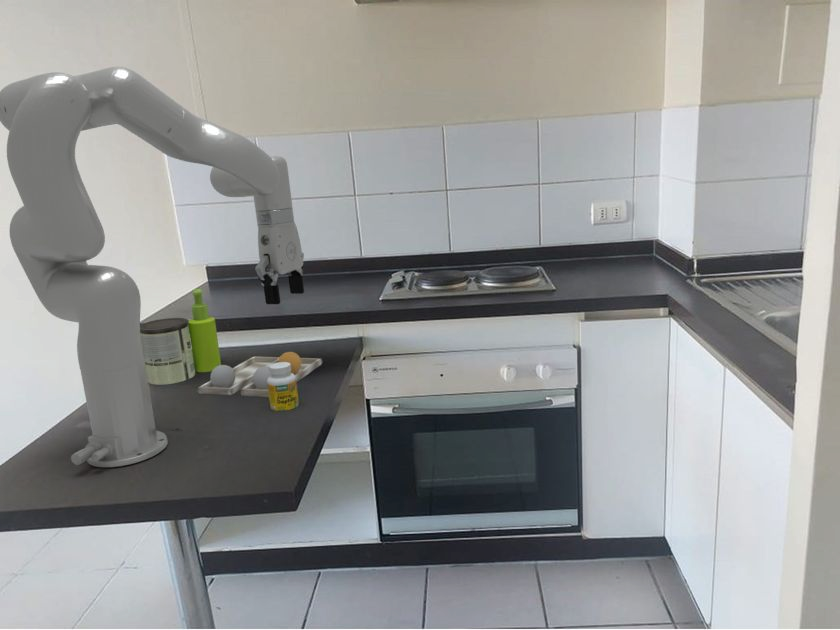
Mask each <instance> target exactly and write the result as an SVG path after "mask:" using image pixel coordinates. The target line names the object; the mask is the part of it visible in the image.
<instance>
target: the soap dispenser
mask: <svg viewBox="0 0 840 630" xmlns="http://www.w3.org/2000/svg"><path fill="white" fill-rule="evenodd" d="M192 295H193V297H194V304H192V305H191V311H192V319H188V329H189V335H190V342H191V349H192V355H193V362H194V369H195V373H196V372H197V373H209V372H210V373H211V372H212V371H213V369H214V368H215V367H217V366H219V365H222V362H221V355H220V353H221V352H220V347H219V340H218V332H217V324H216V319H215V318H216V317H212V316H209V308H208V303H205V302H204V301H203V300H204V299H203V291H202V288H196V289H192Z"/></svg>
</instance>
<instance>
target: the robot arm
mask: <svg viewBox="0 0 840 630" xmlns="http://www.w3.org/2000/svg"><path fill="white" fill-rule="evenodd" d="M0 123H1V124H2V125H3V126H4V128H5V129H7V130H8V131H9V132H8V136H7V140H6V141H7V142H6V159H7V165H8V170H9V171H10V175H11V178H12V180H13V182H14V185H15V187H16V189H17V193H18V194H19V197H20V199H21V201H22V204H23V206H21V207H20V208H19V209H17V211H15V213H14V215H13V216H12V218H11V220H10V223H9V230H8V231H9V240H10V242H11V243H10V244H11V246H12V248H13V251H14V253H15V255H16V257H17V259H18V261H19V263H20V265H21V267H22V269H23V272H24V273H25V275H26V277H27V279H28V281H29V283H30V284H31V287H32V288H33V291H34V293H35V295H36V296H37V298H38V301H40V303H41V304H42V306H43V307H44V308H45V309H46V311H48V313H50V314H51V315H52V316H54V317H56V318H58V319H60V320H63V321H66V322H68V321H69V322H73V323H77V324H78V333H77V340H76V352H77V361H78V365H79V369H80V370H79V371H80V376H81V380H82V385H83V391H84V396H85V402H86V406H87V407H86V408H87V412H88V418H89V422H90V428H91V433H92V434H91V435H90V436H87V441H88V443H87V444H86V445H85V447H84V448H82V449H80V450H78V451H76V452H74V453H72V454H71V456H70V460H71V462H72V463H73V464H74V465H76V466H79V465H81V464H83V463H84V462H86V463H88V465H91V466H93V467H97V468H117V467H124V466H128V465H133V464H137V463H140V462H143V461H145V460H147V459H148V460H149V459H151V458H153V457H154V456H156V455H159V454H160V453H161V452H162V451H163V450H165V448H166V447H167V445H168V442H169V441H168V436H167V434H165V433H164V432H162V431H160V430H157V427H156V423H155V415H154V410H153V405H152V397H151V392H150V385H149V383H148V379H147V372H146V366H145V360H144V355H143V349H142V342H141V333H140V325H141V308H142V307H141V305H142V303H141V294H140V293H141V292H140V289H139V287H138V284H137V283H136V281H134V279H133V278H132V276H130V275H129V274H128V273H126V272H125V271H124V270H121V269H119V268H116V267H113V266H107V265H98V264H97V265H95V264H88V262H87V261H90V260H92V259H93V258H95V257H97V256H98V255H99V254H100V253H101V252H102V251H103V249H104V246H105V243H106V242H105V241H106V237H105V230H104V228H103V224H102V222H101V220H100V218H99V216H98V213H97V211H96V209H95V207H94V205H93V203H92V202H93V201H92V200H91V198H90V196H89V195H90V194H88V191H87V189H86V186H85V184H84V182H83V180H82V177H81V174H80V171H79V167H78V165H77V162H76V161H77V159H76V146H77V141H78V138H79V136H80V133H81V132H83V131H87V130H91V129H92V130H93V129H96V128H97V129H98V128H100V127H106V126H111V125H112V126H113V125H118V126H121V127H123V128H124V129H126V130H127V131H128V132H130V133H131V134H134V135H135V136H137V137H138V138H140V139H141V140H143V141H144V142H146V143H148V144H149V145H150V146H152V147H154V148H155V149H157V150H158V151H160V152H161V153H163V154H164V155H166V156H167V157H169V158H172V159H175V160H179V161H182V162H186V163H192V164H200V165H203V166H204V165H205V166H208V167H212V168H211V170H210V174H209V181H210V184H211V186H212V187H213V189H214V190H215V191H216V192H217V193H218V194H220V195H221V196H225V197H227V198H228V197H229V198H245V197H253V202H254V208H255V215H256V216H255V217H256V224H257V244H258V257H259V261H258V263H257V265H256V266H255V268H254V269H255V272H256V274H257V276H258V277H257V278H258V281H260V283H261V286H262V287H263V292H264V298H265V303H266V305H280V304H281V295H280V287H279V284H277V281H278V278H279V275H285V274H289V275H288V276H287V278H288V283H289V291H290V292H289V293H290V294H296V295H297V294H298V295H301V294H304V293H305V288H304V279H303V274H304V271H303V268H304V257H305V255H304V252H303V251H302V245H301V239H300V235H299V231H298V228H297V224H296V222H295V218H294V209H293V200H292V193H291V183H290V179H289V178H290V176H289V167H288V163H287V162H288V161H287V160H286V159H285V157H283V156H277V155H276V156H270V155H269V154H268V153H267V152H265V151H264V150H262V149H261V148H260V147H259V146H258V145H257V144H255V143H254V142H252V141H251V140H250V139H248V138H246V137H245V136H242V135H241V134H239V133H236V132H234V131H232V130H230V129H228V128H225V127H223V126H220V125H217V124H215V123H214V122H211V121H208V120H205V119H203V118H200V117H198V116H196V115H194V114H193V113H192V112H190V111H189V110H188V109H186V108H185V107H183V106H182V105H180V104H179V103H178V102H177V101H175V100H174V99H172V98H171V97H170V96H169V95H167V94H166V93H165V92H163V91H162V90H160V88H158V87H157V86H155V85H154V84H153V83H152V82H149V81H148V80H147V79H146V78H144V77H143V76H142V75H140V74H139V73H138V72H136V71H134V70H132V69H130V68H127V67H123V66H112V67H111V66H110V67H107V68H102V69H98V70H95V71H92V72H88V73H83V74H78V75H72V74H68V73H65V72H59V71H58V72H46V73H42V74H38V75H34V76H32V77H28V78H25V79H22V80H18V81H14V82H11V83H10V84H8V85H6V86H4V87H3V88H2V89H1V90H0Z"/></svg>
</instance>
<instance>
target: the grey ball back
mask: <svg viewBox="0 0 840 630" xmlns="http://www.w3.org/2000/svg"><path fill="white" fill-rule="evenodd" d="M232 368H233V367H231V366H229V365H227V364H221V365H219V366H217V367H215V368H214V369H213V371H210V380H211V382H212V384H213V385H214V386H215V387H221V388H228V387H230V386H231V385H232V384H233V383H234V381H235V372H234V370H233V369H232Z"/></svg>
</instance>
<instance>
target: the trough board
mask: <svg viewBox="0 0 840 630" xmlns="http://www.w3.org/2000/svg"><path fill="white" fill-rule="evenodd" d="M279 358H280V356H277V357H276V356H252V357H250V358H248V359H246V360H245V361H243V362H241V363H239V364H237V365H236V366H234V367H231V368H232V369H233V370H234V372H235V381H234V383H233V384H232V385H231V386H230V387H228V388H221V387H215V386H214V385H213V384H212V382H211V379H210V380H208V381H207V382H206V383H203V384H201V385H200V386H198V387H197V392H198V394H204V395H205V394H206V395H221V396H233V395H234V394H236V393H237V392H239V391H240V396H241V397H242V396H245V397H262V398H269V392H268V390H264V389H258V388H257V387H256V386H255V385H254V382H253V375H254V373H255V372H256V370H257V369H259V368H261V367H264V366H268V367H269V366H270V365H271V364H274V363H278V360H279ZM300 359H301V367H300V369H299V370H298V371H297V372H296V373H294V375H295V377H296V383H297V382H299V381H300V380H302V379H303V378H305V377H306V376H307V375H309V374H310V373H312V372H313V371H314V370H316V369H317V368H319V367H320V366H322V364H323V360H322V359H323V358H316V357H315V358H311V357H300Z"/></svg>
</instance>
